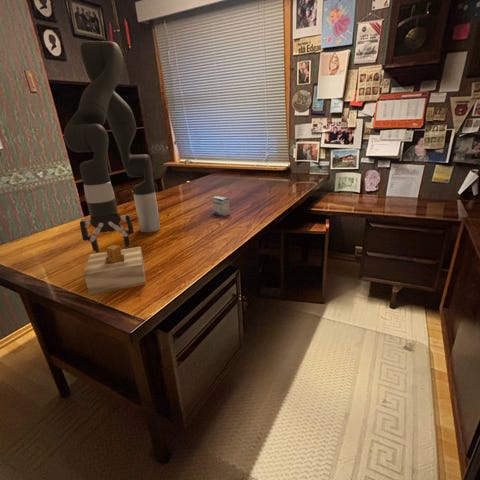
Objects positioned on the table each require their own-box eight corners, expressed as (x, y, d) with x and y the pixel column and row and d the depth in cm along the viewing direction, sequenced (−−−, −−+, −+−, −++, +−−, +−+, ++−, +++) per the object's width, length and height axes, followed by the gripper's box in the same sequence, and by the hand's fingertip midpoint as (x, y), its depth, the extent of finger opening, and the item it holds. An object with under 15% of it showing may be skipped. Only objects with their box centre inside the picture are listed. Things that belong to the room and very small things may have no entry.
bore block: (94, 273, 101) (89, 254, 98) (144, 264, 105) (140, 246, 102) (89, 295, 88) (83, 274, 85) (145, 284, 93) (141, 264, 90)
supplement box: (126, 273, 97) (120, 245, 93) (118, 278, 94) (112, 250, 90) (119, 272, 98) (113, 244, 94) (111, 276, 96) (104, 248, 92)
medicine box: (213, 213, 156) (211, 197, 152) (219, 211, 159) (218, 195, 155) (223, 216, 151) (222, 199, 147) (229, 214, 154) (228, 197, 150)
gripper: (127, 192, 91) (136, 240, 98) (75, 198, 87) (89, 248, 94) (126, 198, 85) (136, 250, 91) (71, 204, 81) (85, 258, 87)
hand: (112, 249), depth 93 cm, fingers open, 8 cm apart
